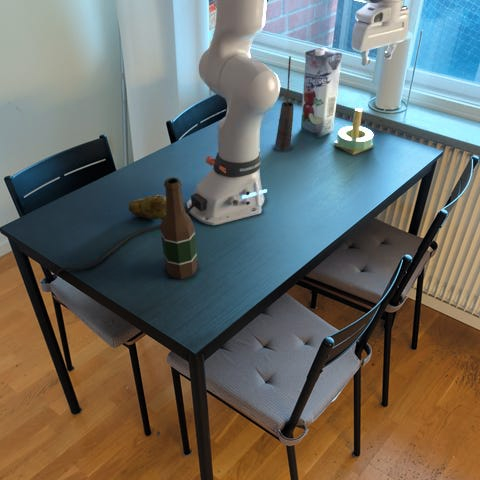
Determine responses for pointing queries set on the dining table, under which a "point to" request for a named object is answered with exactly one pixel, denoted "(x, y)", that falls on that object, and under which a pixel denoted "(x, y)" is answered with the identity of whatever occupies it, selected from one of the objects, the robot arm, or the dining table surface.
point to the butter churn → (285, 122)
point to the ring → (355, 139)
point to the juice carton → (320, 91)
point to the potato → (149, 207)
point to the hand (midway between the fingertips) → (376, 61)
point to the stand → (354, 131)
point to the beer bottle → (178, 234)
